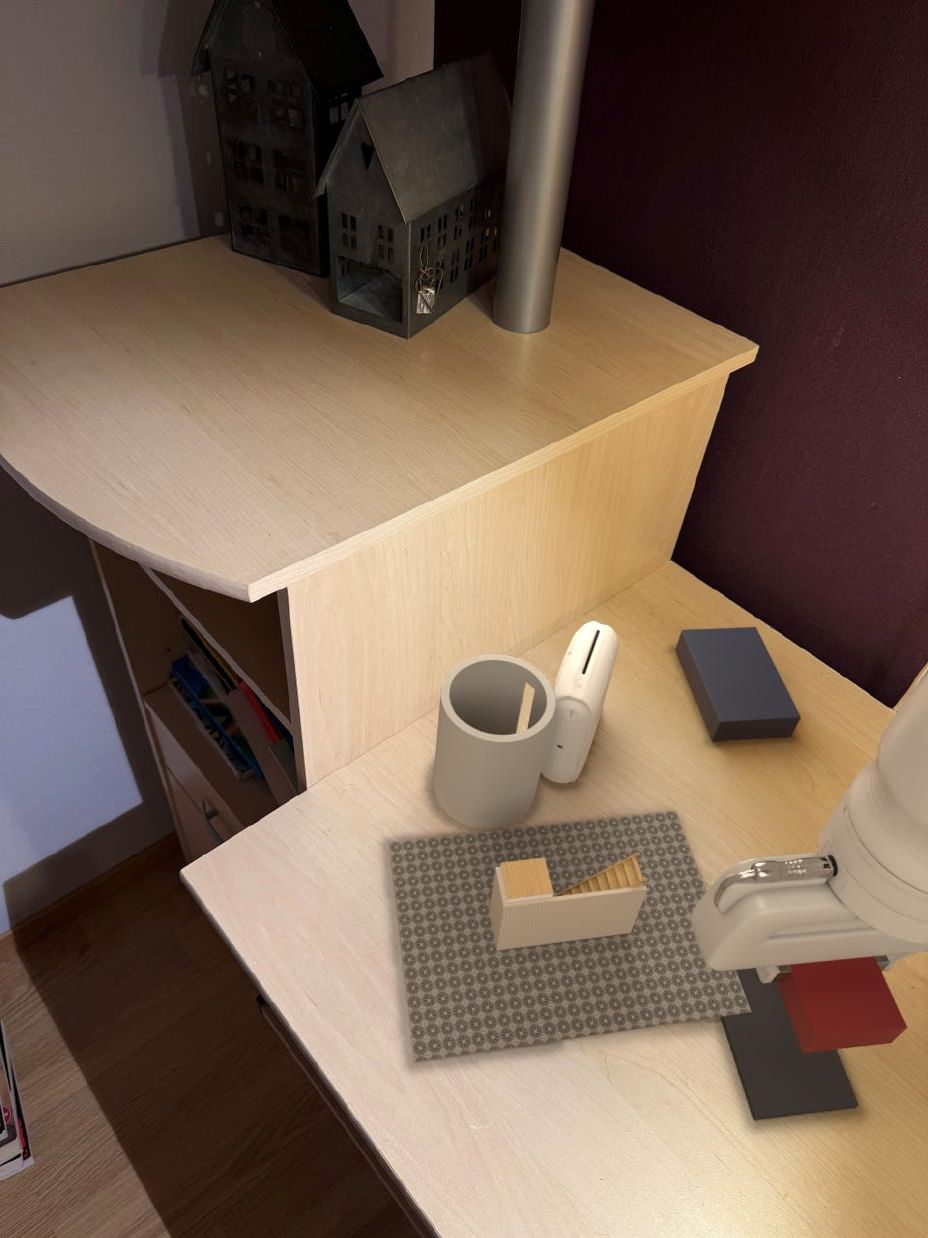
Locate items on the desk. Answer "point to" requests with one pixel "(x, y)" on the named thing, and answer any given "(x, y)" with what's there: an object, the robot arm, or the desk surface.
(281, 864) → the desk surface
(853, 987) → the burgundy notebook
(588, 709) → the photo printer
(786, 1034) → the felt pad
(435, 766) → the cup
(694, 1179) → the desk surface
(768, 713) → the navy hardback
